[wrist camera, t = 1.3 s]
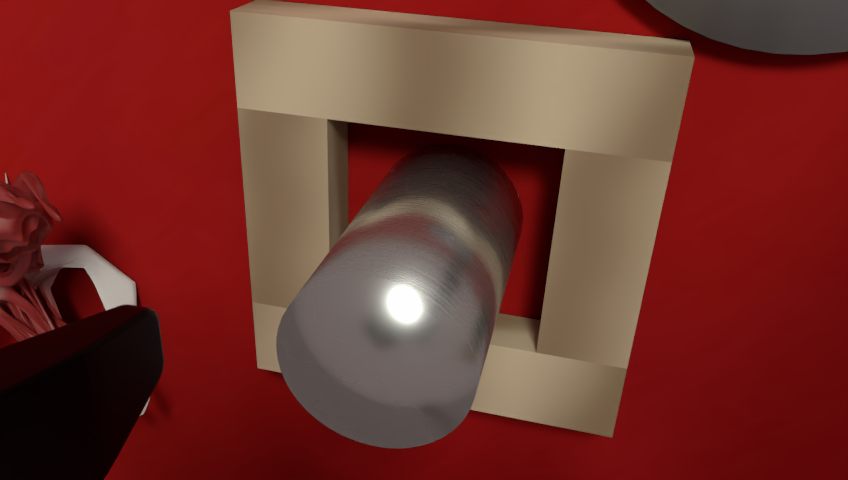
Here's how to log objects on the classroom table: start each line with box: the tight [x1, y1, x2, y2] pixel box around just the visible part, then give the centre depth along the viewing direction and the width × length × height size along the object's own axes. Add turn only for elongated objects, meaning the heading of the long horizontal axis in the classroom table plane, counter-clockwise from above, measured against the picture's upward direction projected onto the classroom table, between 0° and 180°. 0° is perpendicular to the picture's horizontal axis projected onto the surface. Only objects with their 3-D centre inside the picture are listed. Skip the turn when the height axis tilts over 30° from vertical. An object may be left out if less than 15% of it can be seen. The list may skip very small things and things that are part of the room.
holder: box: [230, 0, 695, 437], centre depth 22 cm, size 12×12×2 cm
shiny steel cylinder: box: [276, 145, 523, 448], centre depth 20 cm, size 5×5×8 cm
